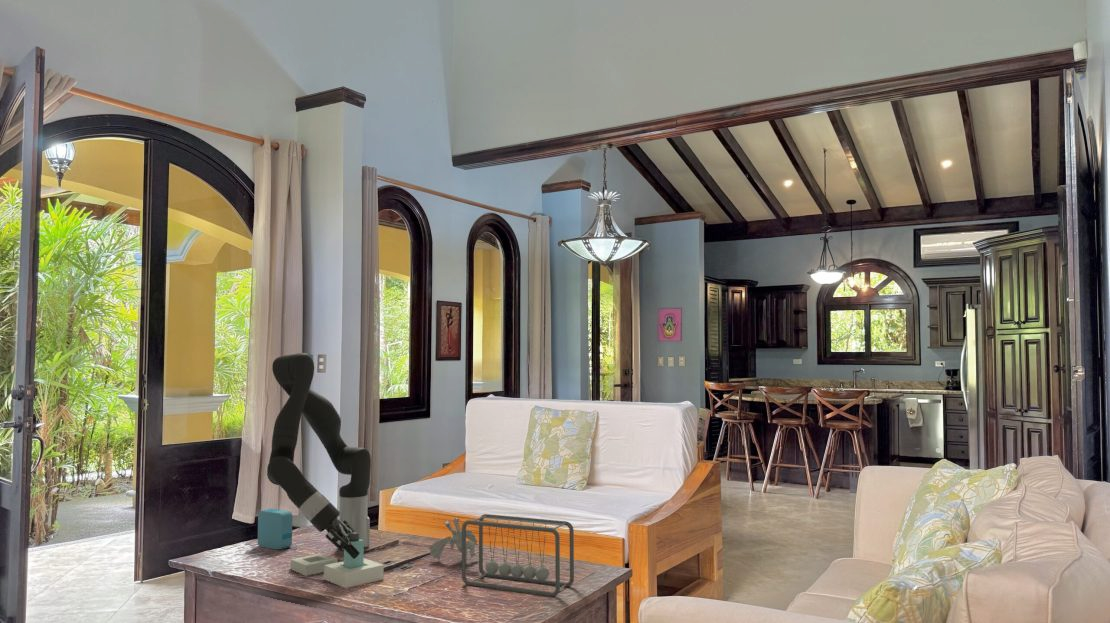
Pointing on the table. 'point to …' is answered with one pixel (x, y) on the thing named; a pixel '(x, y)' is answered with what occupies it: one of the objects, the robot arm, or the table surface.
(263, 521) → the data package
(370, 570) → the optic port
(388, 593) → the table surface
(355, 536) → the plug
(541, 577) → the newton's cradle
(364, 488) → the robot arm
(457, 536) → the fairy figurine
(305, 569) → the holster
